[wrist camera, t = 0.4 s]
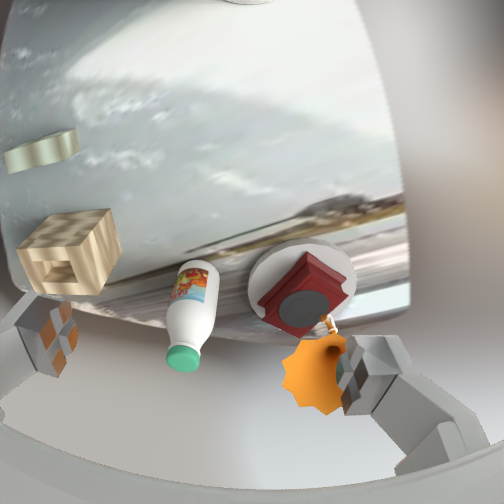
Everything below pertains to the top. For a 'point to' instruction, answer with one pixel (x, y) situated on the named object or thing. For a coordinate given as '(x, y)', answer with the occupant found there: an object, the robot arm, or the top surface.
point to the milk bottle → (191, 313)
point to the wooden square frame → (71, 253)
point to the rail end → (42, 151)
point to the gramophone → (306, 312)
